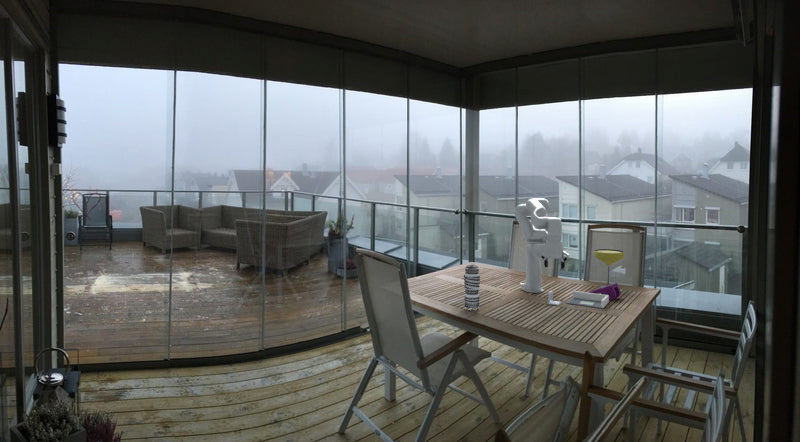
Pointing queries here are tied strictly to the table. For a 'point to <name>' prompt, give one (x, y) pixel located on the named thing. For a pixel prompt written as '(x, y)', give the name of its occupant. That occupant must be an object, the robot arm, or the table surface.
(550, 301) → the angle bracket
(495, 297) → the table surface
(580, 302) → the tray
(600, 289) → the mounting bracket
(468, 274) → the decorative candle
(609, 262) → the cocktail glass
